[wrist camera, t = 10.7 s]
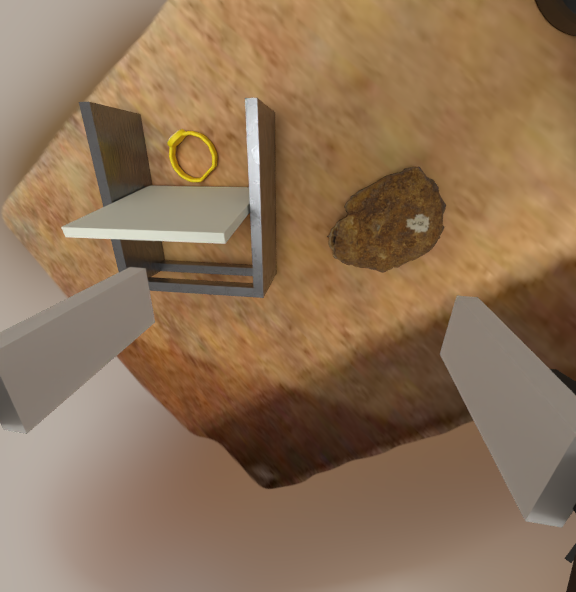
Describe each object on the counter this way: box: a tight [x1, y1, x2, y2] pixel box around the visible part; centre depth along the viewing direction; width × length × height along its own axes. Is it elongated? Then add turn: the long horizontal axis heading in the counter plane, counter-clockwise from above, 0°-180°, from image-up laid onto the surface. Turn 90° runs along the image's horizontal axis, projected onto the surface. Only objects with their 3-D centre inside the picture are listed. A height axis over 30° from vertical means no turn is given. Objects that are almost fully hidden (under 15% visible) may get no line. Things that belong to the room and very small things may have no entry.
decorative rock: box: [327, 167, 446, 273], centre depth 39 cm, size 11×4×15 cm
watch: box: [167, 129, 217, 182], centre depth 39 cm, size 6×3×6 cm
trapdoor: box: [61, 186, 250, 244], centre depth 34 cm, size 16×16×1 cm
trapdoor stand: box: [79, 98, 276, 298], centre depth 39 cm, size 19×21×9 cm
